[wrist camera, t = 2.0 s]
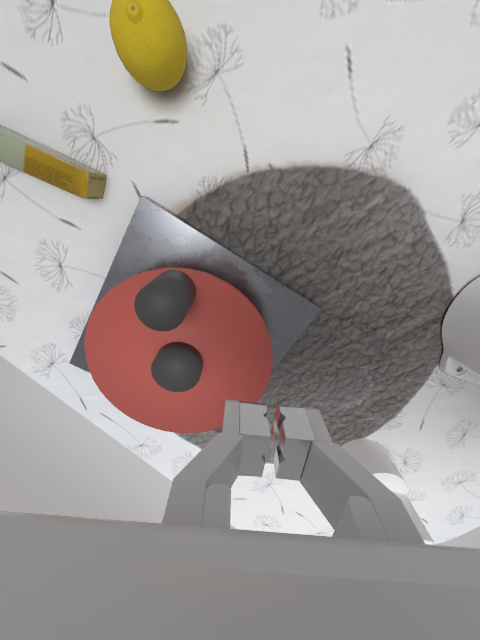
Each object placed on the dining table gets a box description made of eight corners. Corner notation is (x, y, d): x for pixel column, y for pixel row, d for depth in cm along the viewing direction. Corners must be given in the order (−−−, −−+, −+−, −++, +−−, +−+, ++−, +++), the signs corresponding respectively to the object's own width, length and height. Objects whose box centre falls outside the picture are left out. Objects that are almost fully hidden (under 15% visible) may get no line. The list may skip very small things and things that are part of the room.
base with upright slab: (322, 469, 45) (349, 553, 34) (349, 432, 42) (388, 511, 31) (367, 482, 46) (407, 567, 35) (397, 447, 43) (451, 529, 32)
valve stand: (318, 305, 34) (333, 324, 28) (223, 426, 41) (221, 460, 36) (146, 196, 29) (123, 192, 23) (75, 357, 37) (46, 383, 31)
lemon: (158, 117, 26) (126, 80, 19) (123, 54, 24) (71, -16, 17) (205, 82, 25) (190, 29, 18) (171, 13, 23) (139, -79, 16)
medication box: (-11, 149, 27) (-50, 141, 24) (-10, 120, 26) (-51, 107, 23) (103, 200, 29) (84, 199, 26) (109, 174, 28) (89, 170, 25)
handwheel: (265, 427, 33) (270, 472, 27) (106, 423, 33) (78, 468, 27) (279, 270, 26) (290, 287, 20) (72, 263, 25) (23, 279, 20)
